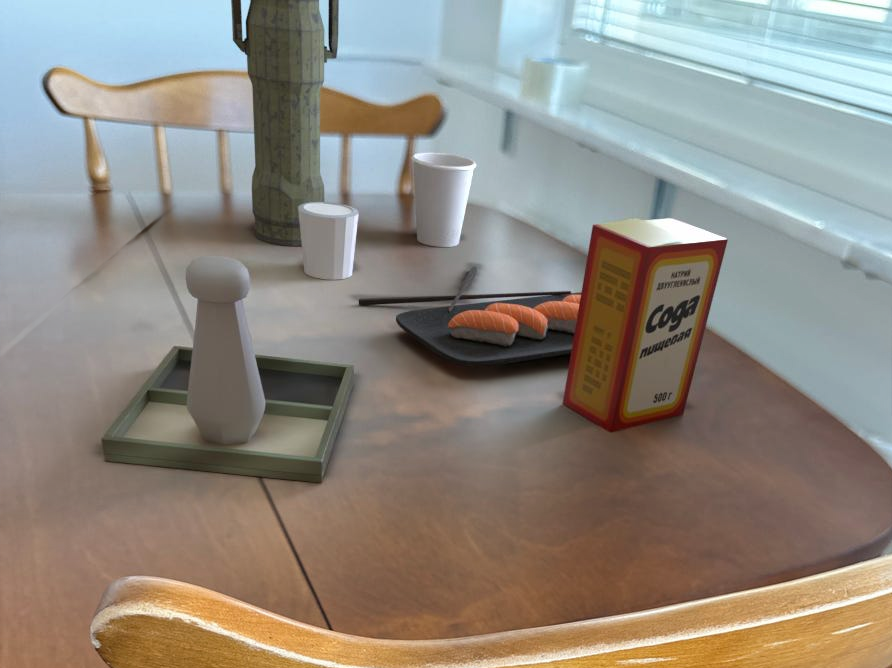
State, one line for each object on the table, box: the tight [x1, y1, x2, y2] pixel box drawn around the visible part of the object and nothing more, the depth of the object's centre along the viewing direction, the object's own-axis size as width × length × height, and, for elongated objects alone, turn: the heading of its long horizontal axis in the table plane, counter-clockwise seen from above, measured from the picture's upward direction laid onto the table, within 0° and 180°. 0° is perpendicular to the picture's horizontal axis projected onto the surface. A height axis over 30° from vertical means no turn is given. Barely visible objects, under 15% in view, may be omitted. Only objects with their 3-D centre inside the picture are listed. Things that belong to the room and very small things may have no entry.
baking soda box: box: [562, 217, 729, 433], centre depth 81 cm, size 10×6×16 cm
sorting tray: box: [100, 345, 355, 484], centre depth 76 cm, size 16×19×2 cm
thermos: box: [230, 0, 340, 247], centre depth 108 cm, size 9×12×35 cm
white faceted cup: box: [298, 201, 359, 281], centre depth 107 cm, size 7×7×7 cm
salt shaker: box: [185, 255, 266, 445], centre depth 68 cm, size 6×6×13 cm
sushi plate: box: [358, 266, 582, 367], centre depth 102 cm, size 29×30×4 cm
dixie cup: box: [410, 151, 477, 248], centre depth 122 cm, size 8×8×10 cm
